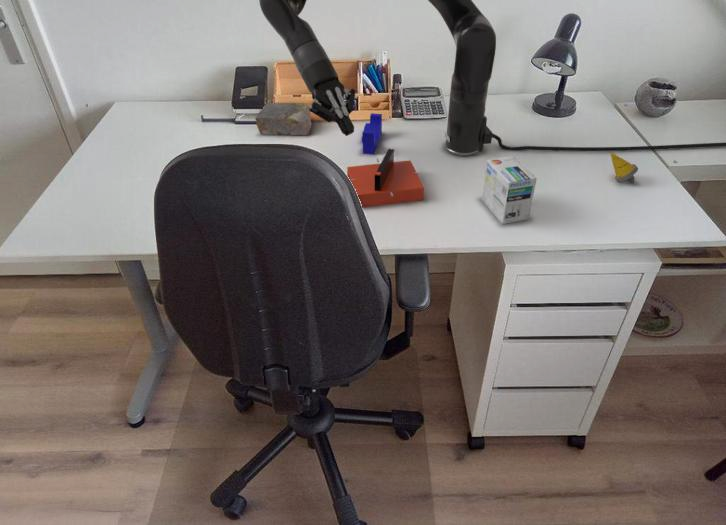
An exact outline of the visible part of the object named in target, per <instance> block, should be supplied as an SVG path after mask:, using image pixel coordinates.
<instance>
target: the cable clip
mask: <svg viewBox="0 0 726 525" xmlns="http://www.w3.org/2000/svg"><path fill="white" fill-rule="evenodd" d="M382 125H383V114H382V113H373V112H371V113H370V115H369V122H365V125H364V127H363V131H362V136H361V143H362V154H363V155H364V154H365V155H375V153H376V150H377V147H378V145H379V143H380V139H381V137H382V134H383V133H382V132H383V126H382Z"/></svg>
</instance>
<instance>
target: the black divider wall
mask: <svg viewBox="0 0 726 525" xmlns="http://www.w3.org/2000/svg"><path fill="white" fill-rule="evenodd" d="M394 162H395V148H388V149H387V151H386V153H385V155H384V157H383V158H382V160H381V162H380V163H381V164H380V163H379V164H380V166H379V168H378V170H377V172H376V174H375V191H381V189H382V187H383V185H384V183H385V181H386V179H387V177H388V175H389V172H390V170H391V168H392V166H393V164H394Z"/></svg>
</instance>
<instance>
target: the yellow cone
mask: <svg viewBox="0 0 726 525" xmlns="http://www.w3.org/2000/svg"><path fill="white" fill-rule="evenodd" d="M609 152H610V153H609V154H610V158H611V162H612V165H613V170H614V174H615V176H614V179H615V181H616V182H617V183H622V182H625V181H628V182H630V183H632V184H635V180H636V178H635V176H634V175H636V173H638V171H639V168H638V166H637V165H636V164H635V163H634V164H633V163H630V162H628V161H627V160H625V159H624V158H622V157H620V156H619V155H617V154H615V153H614V152H612V151H609Z"/></svg>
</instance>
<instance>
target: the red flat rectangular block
mask: <svg viewBox="0 0 726 525" xmlns="http://www.w3.org/2000/svg"><path fill="white" fill-rule="evenodd" d="M376 161H377V163H373V164H361V165H353V166H347V167H346V172H347V178H348V177H349V179H350V181H351V182H352V184H353V186H354V188H355V189H356V192H357V194H358V197H359V199H360V201H361V204H362V207H361V208H368V207H377V206H385V205H393V204H401V203H411V202H418V201H419V202H420V201H424V196H425V186H424V184H423V182H422V180H421V178H420V176H419V174H420V172H419V171H417V170H416V168H415V166H414V163H412V161H411V159H410V160H401V161H394V164H393V166H392V168H391V170H390V172H389V175H388V177H387V179H386V181H385V183H384V185H383V187H382V189H381V191H375V174H376V172H377V170H378V168H379V166H380V164H381V162H380V160H379V158H376Z"/></svg>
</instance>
